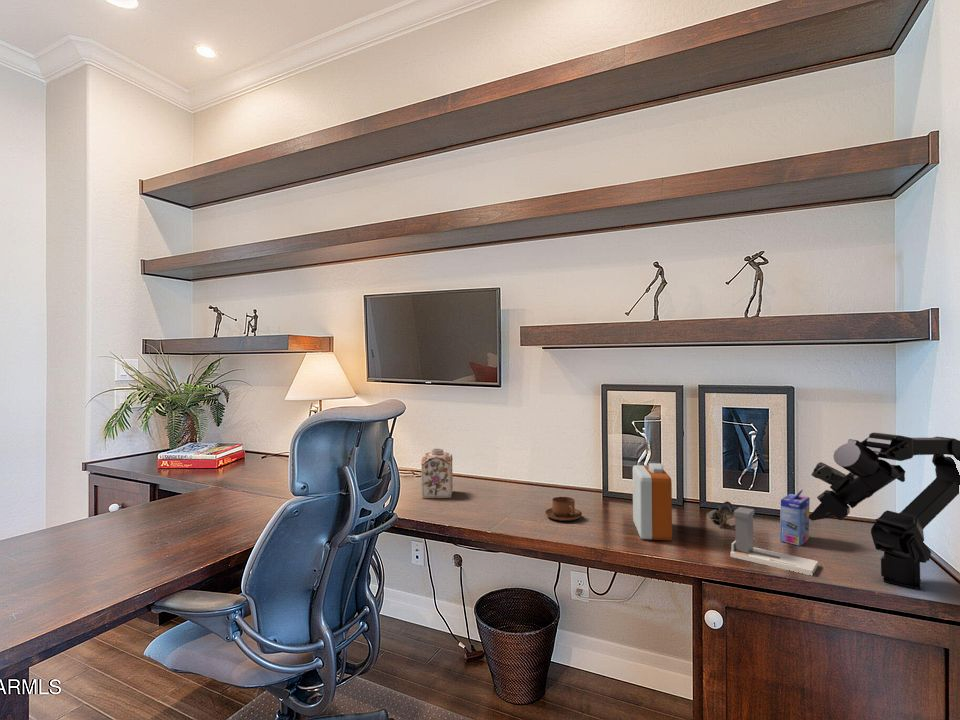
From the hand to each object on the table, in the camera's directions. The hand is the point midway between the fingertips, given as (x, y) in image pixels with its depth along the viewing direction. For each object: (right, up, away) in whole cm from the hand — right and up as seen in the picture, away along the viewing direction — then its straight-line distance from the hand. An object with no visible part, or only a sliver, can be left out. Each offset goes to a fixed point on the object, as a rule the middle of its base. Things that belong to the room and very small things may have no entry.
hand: (810, 518), depth 122 cm
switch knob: (-11, -11, +9) cm, 18 cm away
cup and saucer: (-54, -14, +43) cm, 70 cm away
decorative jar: (-98, -14, +73) cm, 123 cm away
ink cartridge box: (+9, -13, +20) cm, 26 cm away
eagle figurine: (-5, -13, +35) cm, 38 cm away
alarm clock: (-29, -13, +29) cm, 43 cm away
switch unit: (-6, -12, +5) cm, 15 cm away
